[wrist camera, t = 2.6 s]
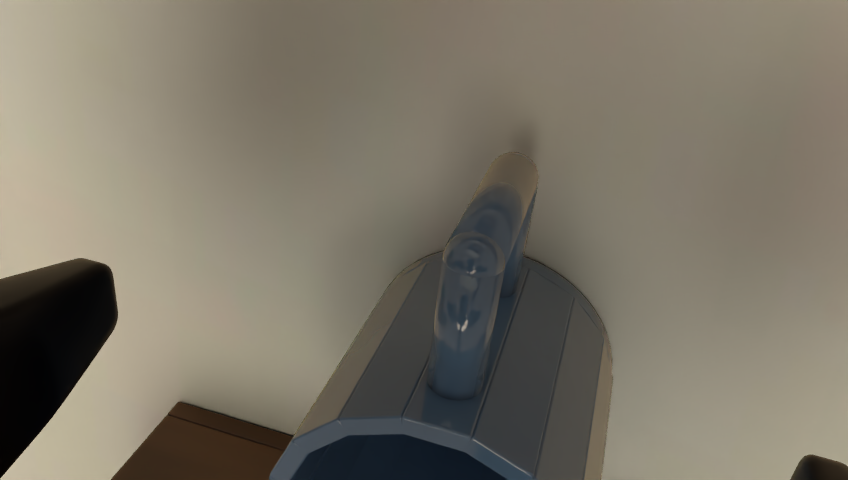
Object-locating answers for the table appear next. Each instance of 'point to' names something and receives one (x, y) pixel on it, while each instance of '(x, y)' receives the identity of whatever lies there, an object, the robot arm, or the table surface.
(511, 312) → the mug
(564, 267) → the table surface
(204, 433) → the cabinet
